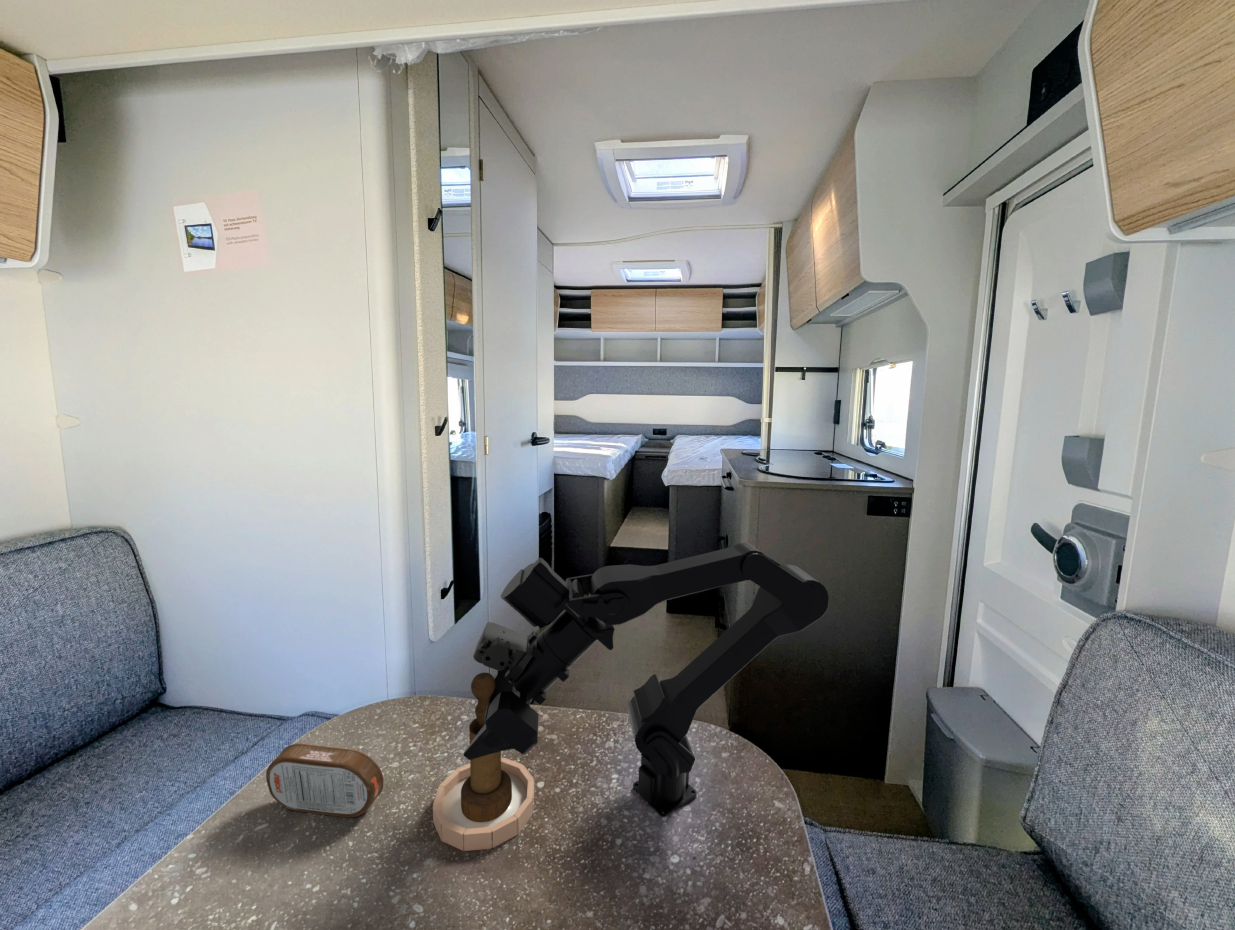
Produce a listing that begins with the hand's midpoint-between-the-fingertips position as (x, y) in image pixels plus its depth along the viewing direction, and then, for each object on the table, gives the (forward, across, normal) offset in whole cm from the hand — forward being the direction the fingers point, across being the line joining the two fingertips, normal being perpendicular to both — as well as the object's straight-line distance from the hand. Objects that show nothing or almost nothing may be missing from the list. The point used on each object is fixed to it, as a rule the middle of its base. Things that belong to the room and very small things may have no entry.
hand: (472, 731), depth 65 cm
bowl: (+7, 0, +9) cm, 11 cm away
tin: (+22, -2, -6) cm, 23 cm away
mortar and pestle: (+6, 0, +8) cm, 11 cm away
